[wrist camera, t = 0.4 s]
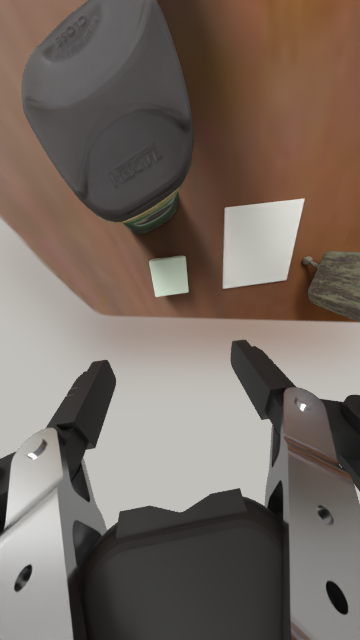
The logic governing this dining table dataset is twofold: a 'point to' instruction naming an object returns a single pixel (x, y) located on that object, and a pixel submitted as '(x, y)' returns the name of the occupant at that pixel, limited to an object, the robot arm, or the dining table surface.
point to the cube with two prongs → (169, 275)
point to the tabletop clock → (337, 283)
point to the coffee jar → (113, 110)
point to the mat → (259, 242)
